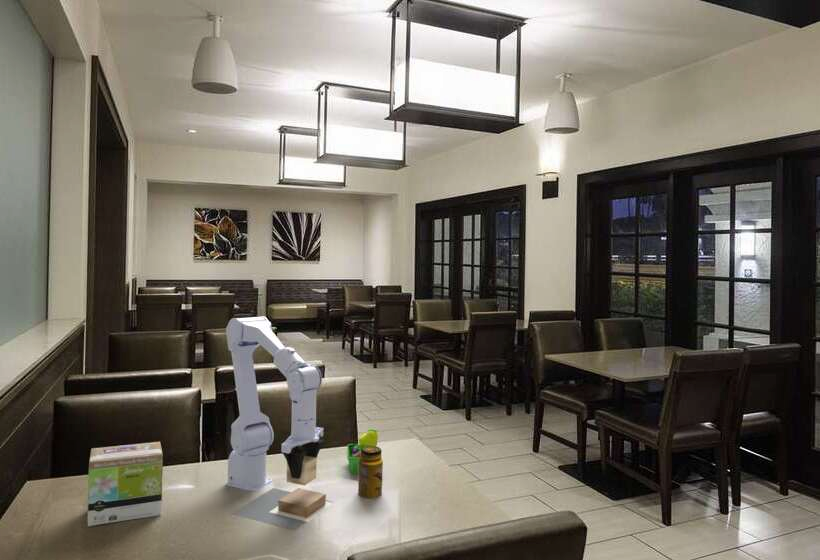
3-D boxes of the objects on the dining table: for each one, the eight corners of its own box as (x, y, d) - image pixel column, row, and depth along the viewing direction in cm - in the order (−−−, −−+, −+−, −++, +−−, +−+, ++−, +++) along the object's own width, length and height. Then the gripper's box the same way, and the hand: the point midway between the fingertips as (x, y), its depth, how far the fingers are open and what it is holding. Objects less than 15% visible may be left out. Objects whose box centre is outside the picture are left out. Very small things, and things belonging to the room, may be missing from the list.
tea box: (86, 529, 121) (87, 462, 121) (89, 510, 130) (89, 447, 130) (162, 516, 128) (163, 452, 128) (159, 498, 137) (160, 439, 137)
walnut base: (278, 510, 132) (278, 500, 132) (298, 497, 139) (298, 487, 139) (306, 517, 128) (307, 507, 128) (325, 504, 136) (325, 494, 136)
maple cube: (286, 481, 132) (286, 460, 132) (298, 474, 137) (298, 454, 137) (304, 485, 130) (304, 464, 130) (316, 478, 135) (316, 457, 135)
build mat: (230, 514, 130) (230, 513, 130) (273, 489, 144) (273, 487, 144) (296, 532, 122) (296, 530, 122) (335, 503, 137) (335, 502, 137)
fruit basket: (346, 460, 166) (347, 423, 166) (376, 460, 167) (377, 423, 167) (346, 475, 155) (347, 435, 155) (378, 475, 156) (379, 435, 156)
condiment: (388, 497, 142) (389, 450, 141) (358, 504, 137) (360, 456, 137) (374, 487, 148) (375, 442, 148) (345, 493, 143) (346, 447, 143)
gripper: (300, 428, 125) (298, 488, 125) (334, 412, 138) (333, 466, 138) (274, 423, 127) (273, 482, 128) (310, 408, 141) (309, 461, 141)
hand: (302, 473), depth 133 cm, fingers closed on maple cube, 5 cm apart
